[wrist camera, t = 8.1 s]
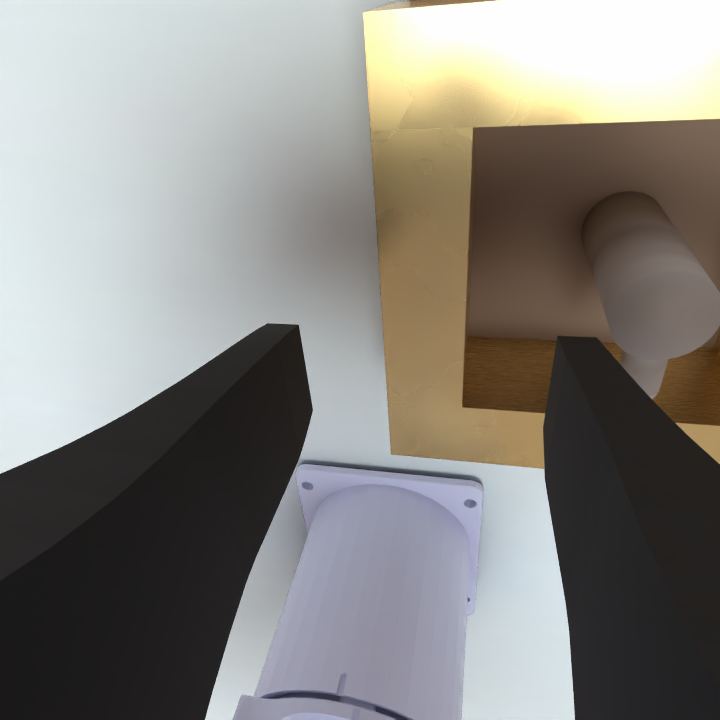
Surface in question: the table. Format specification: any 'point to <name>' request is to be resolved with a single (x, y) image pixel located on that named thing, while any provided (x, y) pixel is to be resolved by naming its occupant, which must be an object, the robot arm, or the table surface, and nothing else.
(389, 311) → the tan slotted block
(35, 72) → the table surface
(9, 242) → the table surface
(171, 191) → the table surface
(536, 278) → the board
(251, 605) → the table surface
